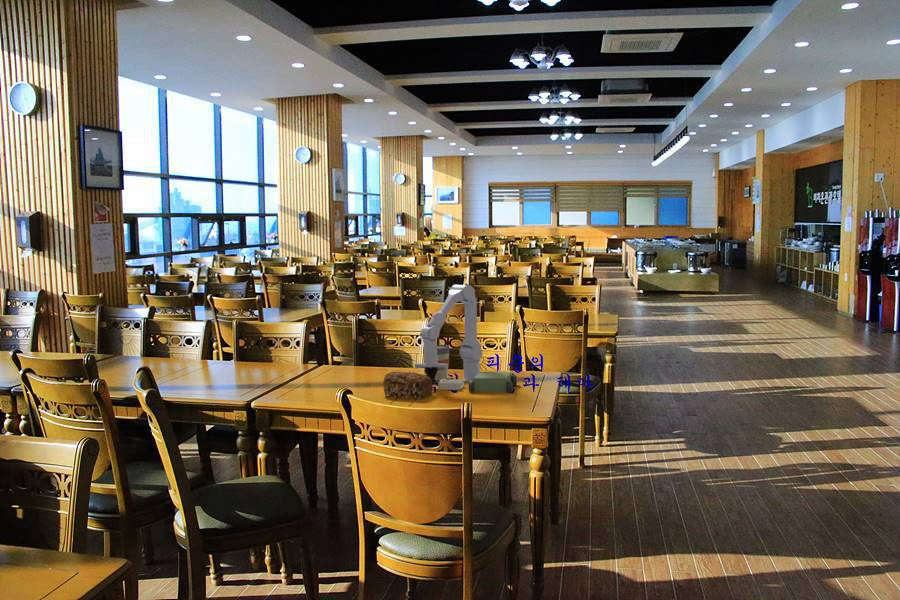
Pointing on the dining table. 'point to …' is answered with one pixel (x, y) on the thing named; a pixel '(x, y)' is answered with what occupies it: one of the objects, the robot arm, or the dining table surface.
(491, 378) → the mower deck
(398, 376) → the bread
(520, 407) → the dining table surface
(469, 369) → the robot arm
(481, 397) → the dining table surface
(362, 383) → the dining table surface
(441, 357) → the reusable coffee cup
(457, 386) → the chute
